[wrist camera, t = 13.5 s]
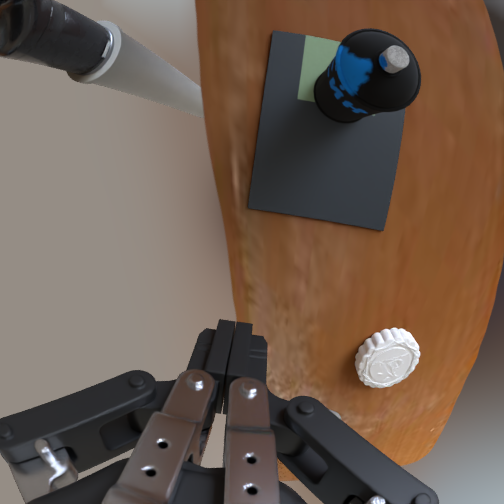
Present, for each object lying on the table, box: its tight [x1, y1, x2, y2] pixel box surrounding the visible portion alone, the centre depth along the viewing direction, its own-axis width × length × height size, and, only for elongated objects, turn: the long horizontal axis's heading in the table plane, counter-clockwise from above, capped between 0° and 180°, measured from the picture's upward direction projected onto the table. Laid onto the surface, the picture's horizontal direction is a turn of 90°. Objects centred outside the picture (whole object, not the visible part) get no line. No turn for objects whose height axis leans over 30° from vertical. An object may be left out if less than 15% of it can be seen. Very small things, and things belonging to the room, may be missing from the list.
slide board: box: [248, 31, 405, 231], centre depth 38 cm, size 20×26×1 cm
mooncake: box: [355, 328, 420, 388], centre depth 48 cm, size 12×12×4 cm
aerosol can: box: [313, 28, 421, 123], centre depth 27 cm, size 8×8×20 cm
